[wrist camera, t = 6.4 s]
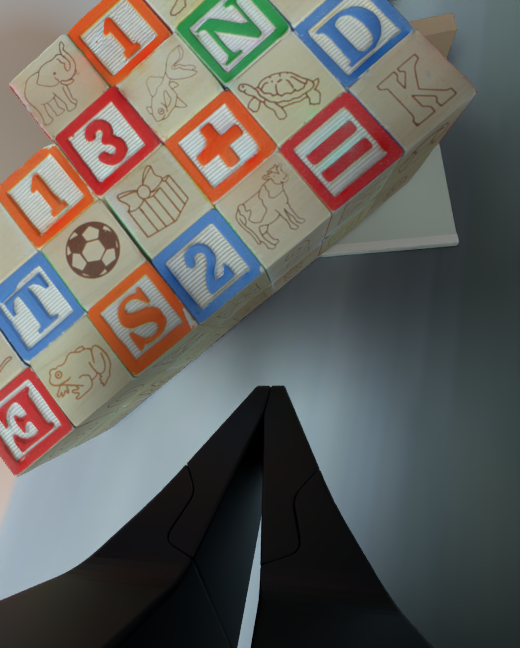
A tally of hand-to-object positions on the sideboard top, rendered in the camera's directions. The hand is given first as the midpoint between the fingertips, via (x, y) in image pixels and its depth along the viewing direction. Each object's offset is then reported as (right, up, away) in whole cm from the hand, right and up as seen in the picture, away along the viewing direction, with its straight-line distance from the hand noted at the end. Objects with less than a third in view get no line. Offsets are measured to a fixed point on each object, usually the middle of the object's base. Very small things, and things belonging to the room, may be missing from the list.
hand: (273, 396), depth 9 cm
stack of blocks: (-1, +3, +4) cm, 5 cm away
